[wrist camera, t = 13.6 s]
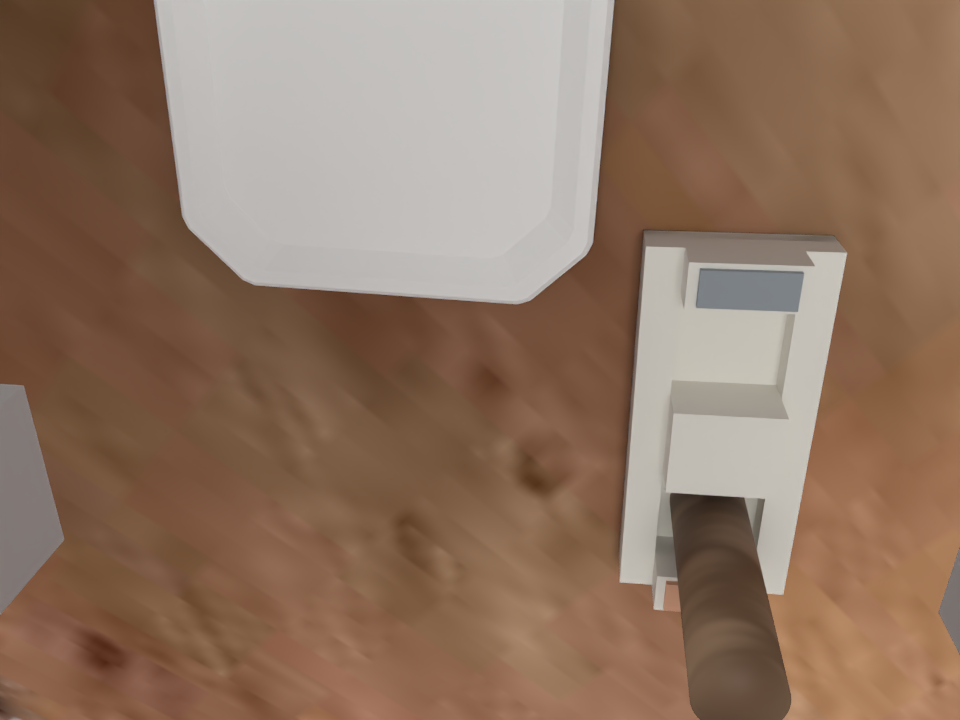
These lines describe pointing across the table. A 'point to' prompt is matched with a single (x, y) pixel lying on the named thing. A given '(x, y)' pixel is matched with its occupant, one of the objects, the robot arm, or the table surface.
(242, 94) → the plate
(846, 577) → the table surface
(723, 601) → the dowel
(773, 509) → the socket block
